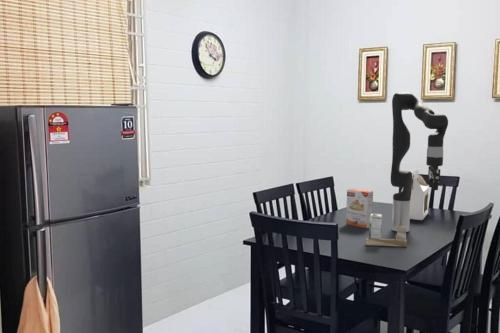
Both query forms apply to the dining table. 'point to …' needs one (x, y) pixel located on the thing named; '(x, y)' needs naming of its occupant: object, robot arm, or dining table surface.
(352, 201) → the cracker box
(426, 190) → the gable box
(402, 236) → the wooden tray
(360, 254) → the dining table surface
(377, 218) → the syrup box
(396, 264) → the dining table surface
